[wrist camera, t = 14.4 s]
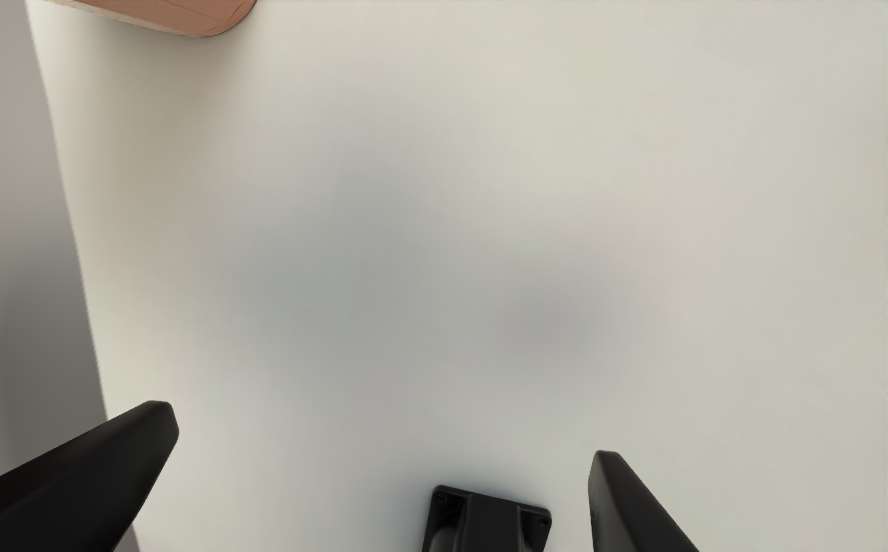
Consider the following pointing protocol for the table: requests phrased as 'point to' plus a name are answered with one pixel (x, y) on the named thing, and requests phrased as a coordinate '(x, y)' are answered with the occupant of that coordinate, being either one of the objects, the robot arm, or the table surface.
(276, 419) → the table surface
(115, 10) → the pencil cup
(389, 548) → the table surface
